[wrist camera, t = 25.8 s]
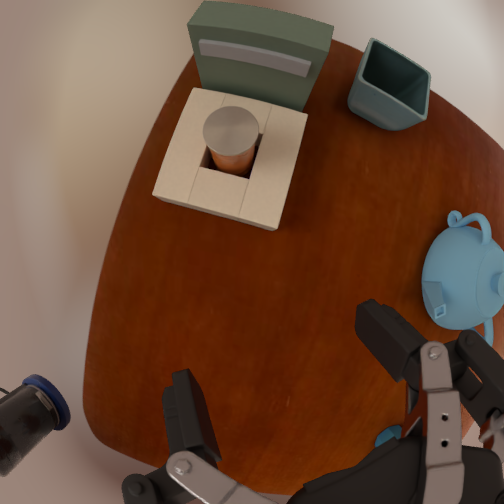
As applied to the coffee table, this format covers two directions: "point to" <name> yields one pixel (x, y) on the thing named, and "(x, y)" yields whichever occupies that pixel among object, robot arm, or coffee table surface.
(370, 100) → the flower pot
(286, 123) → the hollow square tile
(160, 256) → the coffee table surface
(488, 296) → the teapot
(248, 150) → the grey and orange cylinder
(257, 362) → the coffee table surface
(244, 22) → the green upright block
